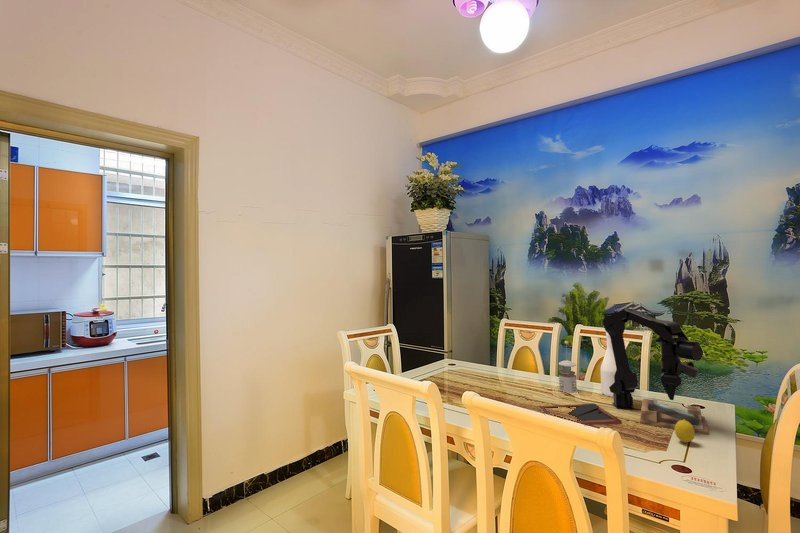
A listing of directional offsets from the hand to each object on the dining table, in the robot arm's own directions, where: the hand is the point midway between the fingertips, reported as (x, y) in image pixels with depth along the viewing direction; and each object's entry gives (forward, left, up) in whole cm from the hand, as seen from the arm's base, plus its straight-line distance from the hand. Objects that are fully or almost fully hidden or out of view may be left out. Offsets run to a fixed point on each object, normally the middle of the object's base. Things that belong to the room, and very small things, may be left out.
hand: (671, 396), depth 152 cm
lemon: (-4, -17, -11) cm, 20 cm away
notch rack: (+2, +3, -11) cm, 11 cm away
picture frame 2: (0, 0, -7) cm, 7 cm away
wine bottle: (-8, +36, -11) cm, 39 cm away
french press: (-27, +40, -11) cm, 50 cm away
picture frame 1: (-32, +7, -12) cm, 35 cm away
